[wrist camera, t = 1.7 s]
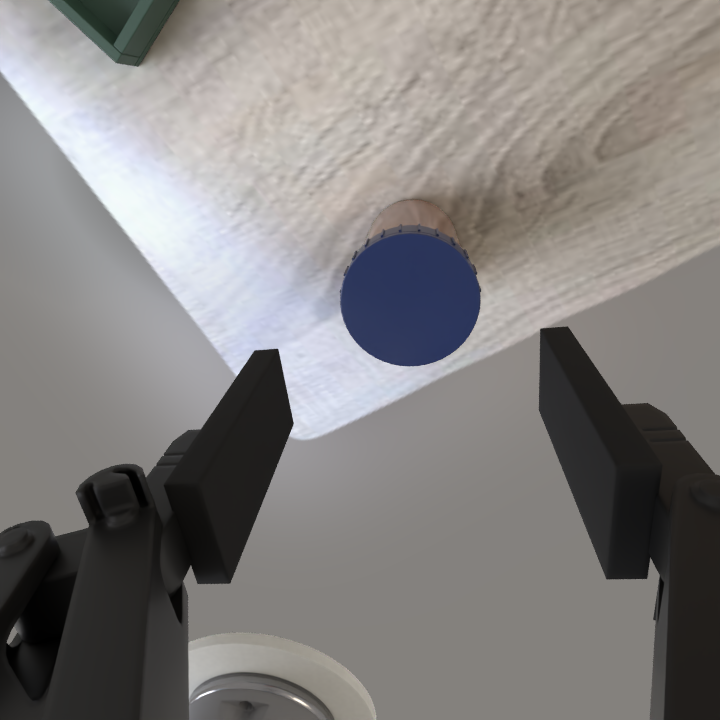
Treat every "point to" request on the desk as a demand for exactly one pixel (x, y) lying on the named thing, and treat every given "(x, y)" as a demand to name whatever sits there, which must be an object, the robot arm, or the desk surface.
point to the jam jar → (413, 218)
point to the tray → (119, 24)
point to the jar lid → (410, 296)
